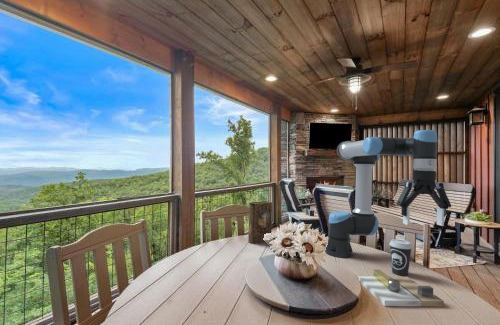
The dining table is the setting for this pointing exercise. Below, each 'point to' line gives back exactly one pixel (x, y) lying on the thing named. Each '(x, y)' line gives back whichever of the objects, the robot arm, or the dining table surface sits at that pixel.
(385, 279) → the latch bar
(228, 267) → the dining table surface
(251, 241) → the book
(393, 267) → the coffee cup
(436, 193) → the robot arm
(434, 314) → the dining table surface
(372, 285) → the door board
